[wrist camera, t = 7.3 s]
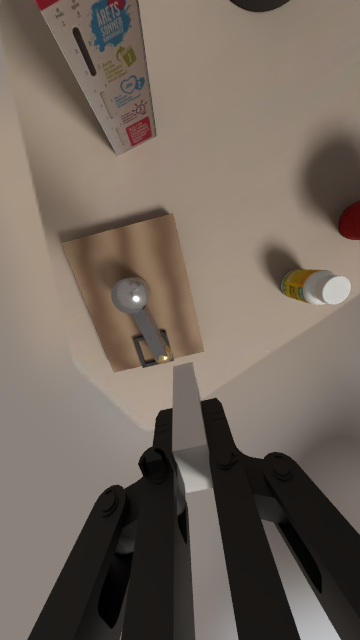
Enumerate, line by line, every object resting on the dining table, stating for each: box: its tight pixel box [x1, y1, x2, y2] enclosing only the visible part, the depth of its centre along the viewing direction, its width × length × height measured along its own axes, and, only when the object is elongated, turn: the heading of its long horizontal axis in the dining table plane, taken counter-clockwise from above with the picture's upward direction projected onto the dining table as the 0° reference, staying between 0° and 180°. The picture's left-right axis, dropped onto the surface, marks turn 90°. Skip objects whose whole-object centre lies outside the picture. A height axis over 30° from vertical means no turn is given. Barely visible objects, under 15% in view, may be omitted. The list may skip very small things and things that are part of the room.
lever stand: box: [62, 213, 204, 372], centre depth 33 cm, size 18×24×4 cm
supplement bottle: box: [281, 269, 351, 305], centre depth 30 cm, size 5×5×10 cm
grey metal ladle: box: [111, 276, 172, 364], centre depth 30 cm, size 15×5×5 cm, turn 24°
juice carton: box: [35, 0, 157, 156], centre depth 16 cm, size 7×7×22 cm
